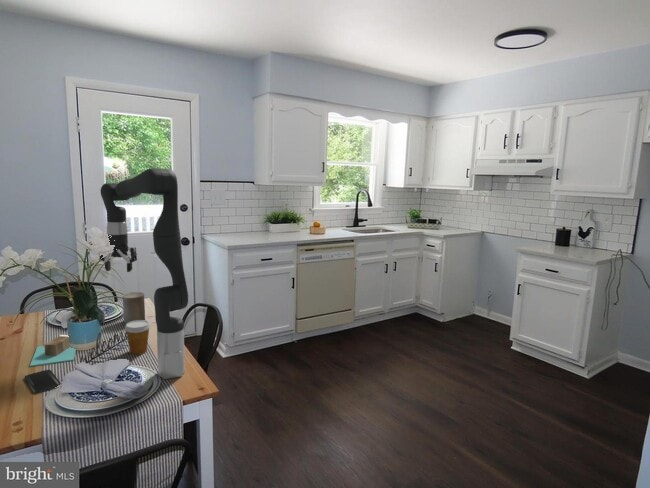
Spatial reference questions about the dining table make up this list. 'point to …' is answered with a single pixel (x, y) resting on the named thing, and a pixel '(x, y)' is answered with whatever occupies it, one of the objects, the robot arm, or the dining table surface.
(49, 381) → the phone
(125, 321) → the pillar candle
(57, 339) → the walnut block
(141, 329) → the disposable coffee cup
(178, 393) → the dining table surface
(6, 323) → the dining table surface
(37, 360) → the teal mat
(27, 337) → the dining table surface
